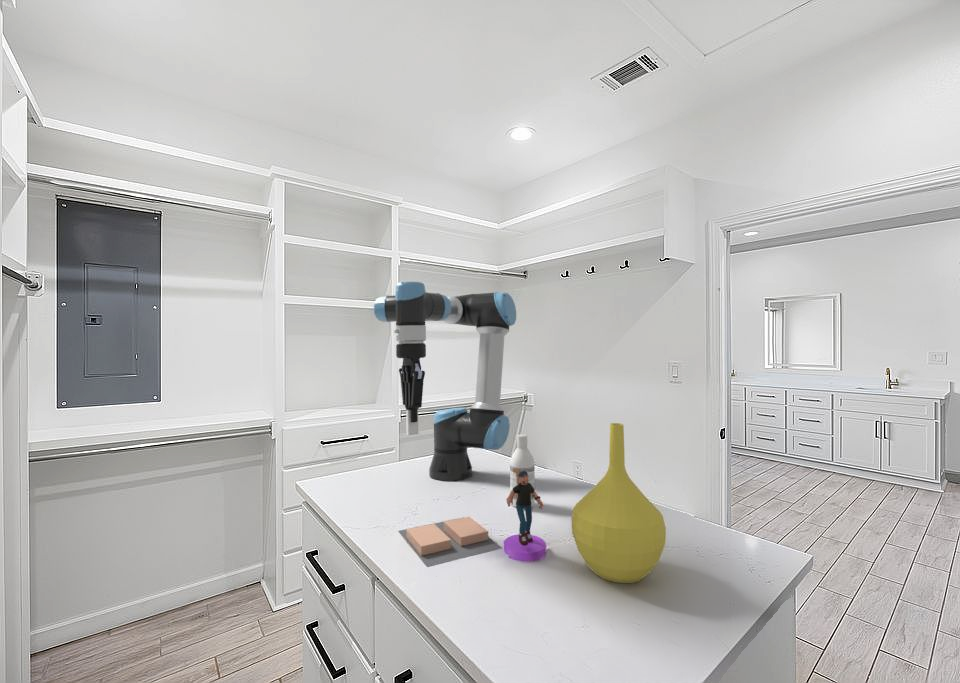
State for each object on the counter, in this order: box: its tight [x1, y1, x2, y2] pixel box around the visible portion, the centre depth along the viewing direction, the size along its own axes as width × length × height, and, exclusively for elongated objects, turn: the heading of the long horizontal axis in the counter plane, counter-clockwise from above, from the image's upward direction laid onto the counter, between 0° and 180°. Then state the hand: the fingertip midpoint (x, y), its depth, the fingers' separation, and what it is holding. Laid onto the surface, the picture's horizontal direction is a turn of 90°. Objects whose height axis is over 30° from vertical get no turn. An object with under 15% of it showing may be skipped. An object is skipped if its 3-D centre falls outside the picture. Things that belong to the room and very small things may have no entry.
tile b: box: [405, 523, 451, 556], centre depth 103 cm, size 7×2×10 cm
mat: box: [397, 516, 503, 568], centre depth 105 cm, size 18×20×1 cm
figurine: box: [503, 471, 547, 563], centre depth 100 cm, size 9×9×18 cm
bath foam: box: [509, 433, 536, 510], centre depth 128 cm, size 7×7×20 cm
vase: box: [571, 422, 667, 584], centre depth 91 cm, size 18×18×30 cm
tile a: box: [443, 516, 489, 546], centre depth 107 cm, size 7×2×10 cm
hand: (412, 434), depth 115 cm, fingers closed
